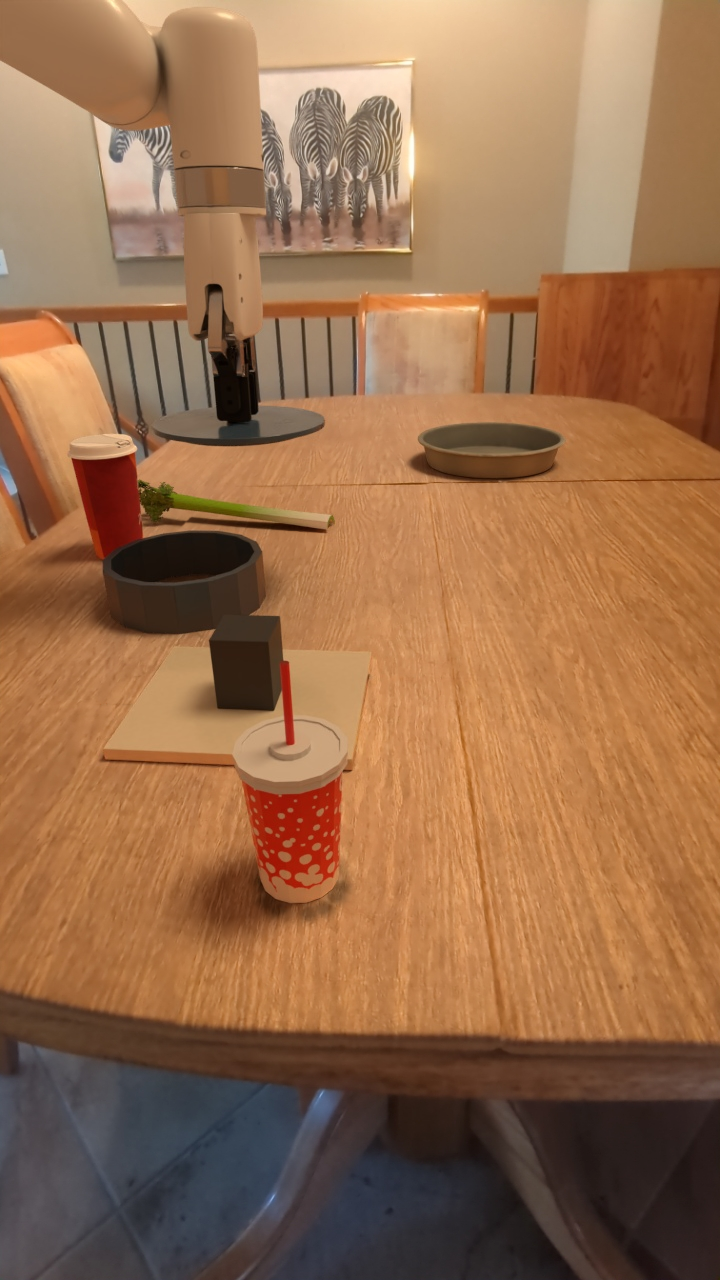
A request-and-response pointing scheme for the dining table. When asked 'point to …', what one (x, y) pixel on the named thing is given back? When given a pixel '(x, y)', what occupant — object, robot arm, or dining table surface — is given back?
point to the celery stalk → (223, 508)
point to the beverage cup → (294, 799)
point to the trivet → (201, 733)
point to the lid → (238, 426)
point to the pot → (186, 602)
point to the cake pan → (491, 449)
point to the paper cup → (108, 489)
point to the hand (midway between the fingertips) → (238, 415)
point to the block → (247, 662)
